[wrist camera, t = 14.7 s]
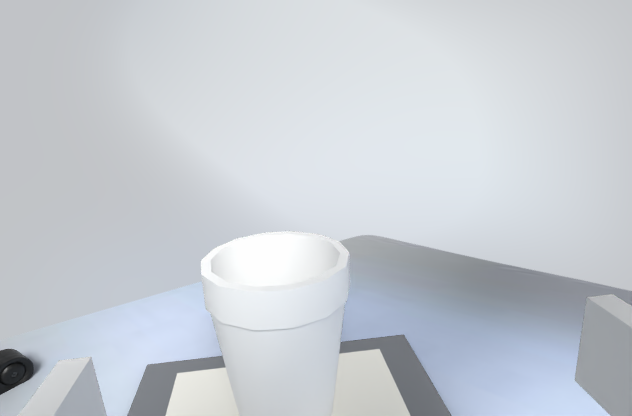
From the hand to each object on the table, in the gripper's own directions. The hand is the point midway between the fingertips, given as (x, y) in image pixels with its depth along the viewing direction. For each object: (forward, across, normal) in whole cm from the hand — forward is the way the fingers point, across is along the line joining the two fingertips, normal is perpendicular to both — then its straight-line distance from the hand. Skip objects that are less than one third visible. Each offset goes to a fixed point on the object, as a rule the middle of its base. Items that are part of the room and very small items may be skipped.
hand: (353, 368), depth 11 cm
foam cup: (+16, -2, -16) cm, 23 cm away
